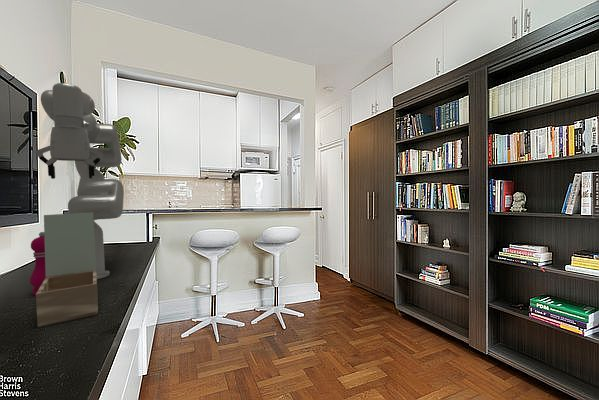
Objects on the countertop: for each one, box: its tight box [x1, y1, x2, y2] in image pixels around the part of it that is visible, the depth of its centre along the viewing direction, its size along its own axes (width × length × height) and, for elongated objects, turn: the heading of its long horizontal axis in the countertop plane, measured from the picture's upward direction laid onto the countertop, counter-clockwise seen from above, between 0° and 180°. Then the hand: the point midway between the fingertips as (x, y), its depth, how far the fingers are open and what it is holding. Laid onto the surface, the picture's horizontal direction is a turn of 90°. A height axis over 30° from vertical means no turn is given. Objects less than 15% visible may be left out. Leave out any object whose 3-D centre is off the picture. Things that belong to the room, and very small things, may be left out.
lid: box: [43, 212, 96, 277], centre depth 93 cm, size 18×12×6 cm
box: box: [35, 270, 99, 328], centre depth 82 cm, size 18×12×8 cm, turn 35°
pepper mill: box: [29, 231, 60, 297], centre depth 98 cm, size 7×7×20 cm
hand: (72, 178), depth 96 cm, fingers open, 9 cm apart
